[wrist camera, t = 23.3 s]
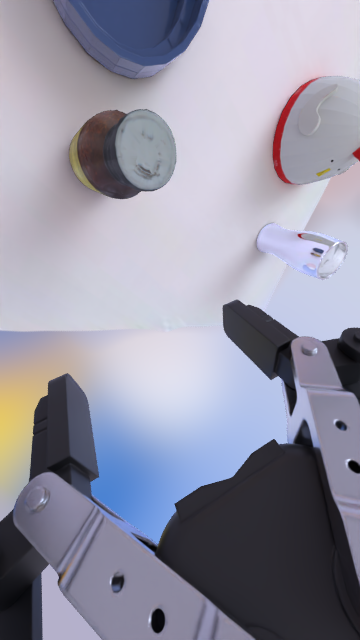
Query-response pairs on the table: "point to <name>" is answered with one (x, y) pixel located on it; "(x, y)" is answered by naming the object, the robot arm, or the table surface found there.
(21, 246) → the table surface
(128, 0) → the bowl
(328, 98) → the kitchen timer
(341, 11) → the table surface
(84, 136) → the sauce bottle
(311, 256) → the beer glass
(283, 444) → the robot arm
